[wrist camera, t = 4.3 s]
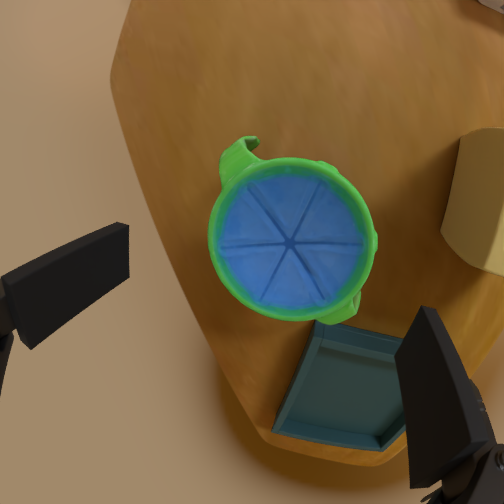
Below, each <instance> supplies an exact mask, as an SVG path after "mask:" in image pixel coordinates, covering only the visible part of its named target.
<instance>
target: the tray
mask: <svg viewBox="0 0 504 504" xmlns="http://www.w3.org/2000/svg"><path fill="white" fill-rule="evenodd" d="M402 341H403V339H401V338H397V337H392V336H388V335H384V334H380V333H375V332H371V331H367V330H363V329H359V328H355V327H351V326H347V325H343V324H339V323H338V324H335V325H327V324H323V323H321V322H319V321H317V320H315V322H314V324H313V327H312V330H311V332H310V335H309V338H308V340H307V343H306V346H305V348H304V351H303V353H302V356H301V358H300V361H299V363H298V366H297V368H296V371H295V373H294V375H293V378H292V380H291V382H290V385H289V387H288V389H287V392H286V394H285V396H284V399H283V401H282V403H281V405H280V407H279V410H278V412H277V414H276V417H275V420H274V424H273V427H272V430H271V432H273V433H277V434H281V435H285V436H289V437H293V438H297V439H302V440H306V441H311V442H316V443H321V444H326V445H332V446H338V447H345V448H352V449H360V450H369V451H379V452H383V451H385V450H386V449H387V448H388V447H389V446H390V445H391V444H392V443H393V442H394V441H395V440H396V439H397V438H398V437H399V436H400V435H401V434H402V433H403V432H404V431H405V430H406V426H405V418H404V411H403V404H402V397H401V391H400V385H399V379H398V374H397V369H396V364H395V359H394V355H395V353H396V352H397V350H398V348H399V347H400V345H401V343H402Z"/></svg>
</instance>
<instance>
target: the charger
mask: <svg viewBox="0 0 504 504" xmlns="http://www.w3.org/2000/svg"><path fill="white" fill-rule="evenodd" d="M478 1H479V2H480V3H481V4H483V5H485V6H487V7H489V8H491V9H494V10H496V11H498V12H500V13H502V14H504V0H478Z"/></svg>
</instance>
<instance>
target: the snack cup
mask: <svg viewBox="0 0 504 504" xmlns="http://www.w3.org/2000/svg"><path fill="white" fill-rule="evenodd" d="M259 143H260V140H259V139H258V138H257V137H256V136H244V137H242V138H240V139H238V140H237V141H236V142H235V143H234V144H232V145H231V146H230V147H229V148H227V149H226V150H225V151H224V152H223V153H222V154H221V157H220V160H219V175H220V179H221V185H222V191H221V193H220V195H219V197H218V198H217V200H216V202H215V204H214V206H213V209H212V212H211V215H210V219H209V222H208V249H209V252H210V257H211V261H212V263H213V266H214V268H215V270H216V273H217V275H218V277H219V278H220V280H221V282H222V283H223V285H224V286H225V287H226V288H227V289H228V291H229V292H230V293H231V294H232V295H233V296H234V297H235V298H236V299H237V300H239V301H240V302H241V303H242V304H244V305H245V306H247V307H248V308H250V309H251V310H253V311H255V312H257V313H259V314H261V315H264V316H267V317H270V318H273V319H278V320H282V321H307V320H313V319H315V320H317V321H319V322H321V323H323V324H327V325H335V324H338V323H340V322H343V321H345V320H347V319H349V318H351V317H352V316H354V315H356V314H357V311H358V308H359V304H360V299H361V291H360V289H361V288H362V286H363V284H364V283H365V281H366V280H367V278H368V276H369V273H370V271H371V268H372V265H373V260H374V253H375V252H376V251H377V245H378V239H377V237H378V235H377V233H376V231H375V230H374V226H373V222H372V218H371V215H370V212H369V209H368V207H367V205H366V203H365V202H364V200H363V198H362V197H361V195H360V193H359V192H358V191H357V190H356V188H355V187H354V186H353V185H352V184H351V183H350V182H349V181H348V180H347V179H346V178H344V177H343V176H342V175H341V174H340V173H339V172H338V170H337V169H336V168H335V167H333V166H332V165H330V164H328V163H326V162H324V161H321V160H320V161H312V160H308V159H303V158H276V159H271V160H262V159H259V158H257V157H256V156H255V155H254V154H252V153H251V151H252V150H253V149H255V148H256V147H257V146H258V145H259Z"/></svg>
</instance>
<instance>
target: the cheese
mask: <svg viewBox="0 0 504 504" xmlns="http://www.w3.org/2000/svg"><path fill="white" fill-rule="evenodd" d="M440 232H441V234H442V236H443V237H444V239H445V241H446V242H447V244H448V245H449V246H450V247H451V249H452V250H453V251H454V252H455V253H456V254H457V255H458V256H459V257H461V258H462V259H463V260H464V261H465V262H466V263H468V264H470V265H472V266H474V267H476V268H479V269H482V270H484V271H486V272H489V273H492V274H495V275H498V276H501V277H504V128H499V127H485V128H481V129H478V130H475V131H472V132H470V133H468V134H467V135H465V136H462V137H461V139H460V145H459V151H458V157H457V162H456V167H455V172H454V176H453V181H452V186H451V191H450V195H449V200H448V204H447V208H446V212H445V216H444V219H443V222H442V226H441V229H440Z"/></svg>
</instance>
